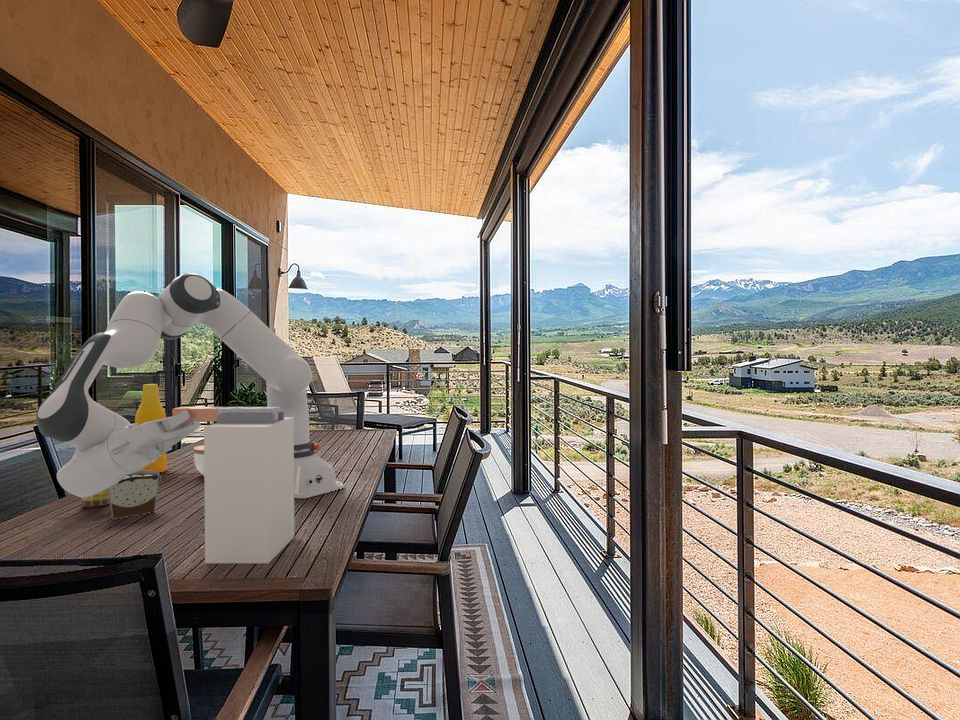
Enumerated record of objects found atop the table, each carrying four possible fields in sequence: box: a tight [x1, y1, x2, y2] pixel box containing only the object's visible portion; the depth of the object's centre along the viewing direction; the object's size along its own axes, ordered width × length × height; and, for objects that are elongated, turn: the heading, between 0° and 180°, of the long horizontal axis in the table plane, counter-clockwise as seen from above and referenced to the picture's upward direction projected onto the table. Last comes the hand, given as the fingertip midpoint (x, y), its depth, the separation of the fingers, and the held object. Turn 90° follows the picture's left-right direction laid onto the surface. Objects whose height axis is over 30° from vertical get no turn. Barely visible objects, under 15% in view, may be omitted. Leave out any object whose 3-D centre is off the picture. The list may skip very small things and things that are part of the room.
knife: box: [171, 406, 280, 422], centre depth 122 cm, size 20×4×2 cm, turn 90°
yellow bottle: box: [134, 383, 168, 474], centre depth 200 cm, size 9×9×29 cm
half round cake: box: [108, 471, 162, 520], centre depth 149 cm, size 12×6×10 cm, turn 134°
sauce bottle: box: [81, 489, 110, 509], centre depth 157 cm, size 7×6×20 cm
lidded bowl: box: [192, 444, 204, 477], centre depth 195 cm, size 13×13×11 cm
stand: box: [203, 411, 295, 564], centre depth 122 cm, size 12×16×28 cm
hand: (196, 411), depth 122 cm, fingers closed on knife, 4 cm apart
